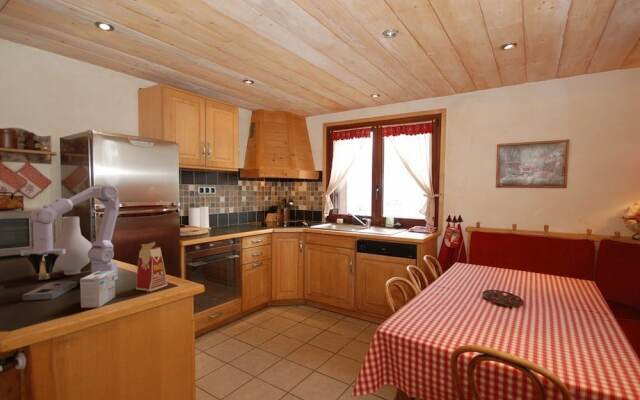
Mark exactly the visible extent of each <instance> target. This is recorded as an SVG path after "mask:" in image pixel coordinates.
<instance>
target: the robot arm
mask: <svg viewBox="0 0 640 400" xmlns="http://www.w3.org/2000/svg"><path fill="white" fill-rule="evenodd" d="M119 193H120V191H119V189H117V187H116V186H115V185H113V184H112V185H111V184H107V185H106V184H95V185H93V186H90V187H88V188H87V189H84V190H83V191H81V192H79V193H77V194H75V195H73V196H71V197H69V198H64V197H62V198H60V197H58V198H56V199H55V201H53V202H51V203H48V204H43V206H42V207H38V208H35V209H33V210H32V211H31V213H30V215H28V218H29V220H31V222H32V236H33V238H32V239H33V249H23V250H20V256H28V257H27V260H28V261H29V262H30V263H31V264H32V268H33V269H34V271H35V274H37V275H39V261H42V260H45V262H46V271H47V273H50V274H51V273H53V272H54V271H53V270H54V264H55V262H56V260H57V258H58V257H59V254H60V255H63V254H66V249H54V248H53V244H54V239H53V236H54V235H53V233H54V232H53V222H54V221H55V219H56V218H58V217H59V216H62V215H64V214H66V213H68V212H70V211H72V210H73V207H74V206H75V205H77V204H80V203H82V202H85V201H87V200H90V199H91V198H95V199H96V200H98V201H99V202H100V203H102V204H103V206H104V211H103V213H102V217H101V222H100V226H99V230H98V234H97V238H96V240H95V241H94V242H92V243H91V244H92V247H91V249H90V250H89V251H88V257H89V259H90V263H91V266H90V267H91V274H93V273H94V272H97V271H115V281H116V280H118V279H119V277H118V264H117V262H116V261H112V259H113V258H114V256H115V253H114V245H113V243H112V239H113V234H114V230H115V227H116V222H117V217H118V214H119V210H120V203H121V202H120V198H119Z"/></svg>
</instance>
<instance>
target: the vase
mask: <svg viewBox="0 0 640 400" xmlns="http://www.w3.org/2000/svg"><path fill="white" fill-rule="evenodd" d="M61 218H62V219H61V220H62V230H61V235H60V237H59V238H58V239H57V240H56V241H55V242H53V248H54V249H66V254H63V255H60V254H59V257H58V258H57V260H56V262H55V264H54V267H55V268H57V269H58V270H61V271H62V272H63V275H64V276H65V275H66V276H69V275H70V276H71V275H72V276H73V275H77V274H81V269H83V268H84V267H85V266H86V265H88V264H89V263H91V259H89V257H88V251H89V250H90V249H91V247H92V244H93V243H92V242H91V241H89V240H88V239H86V238H85V237H84V236H83V235H82V231H81V226H80V216H63V217H61ZM54 267H53V268H54Z"/></svg>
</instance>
